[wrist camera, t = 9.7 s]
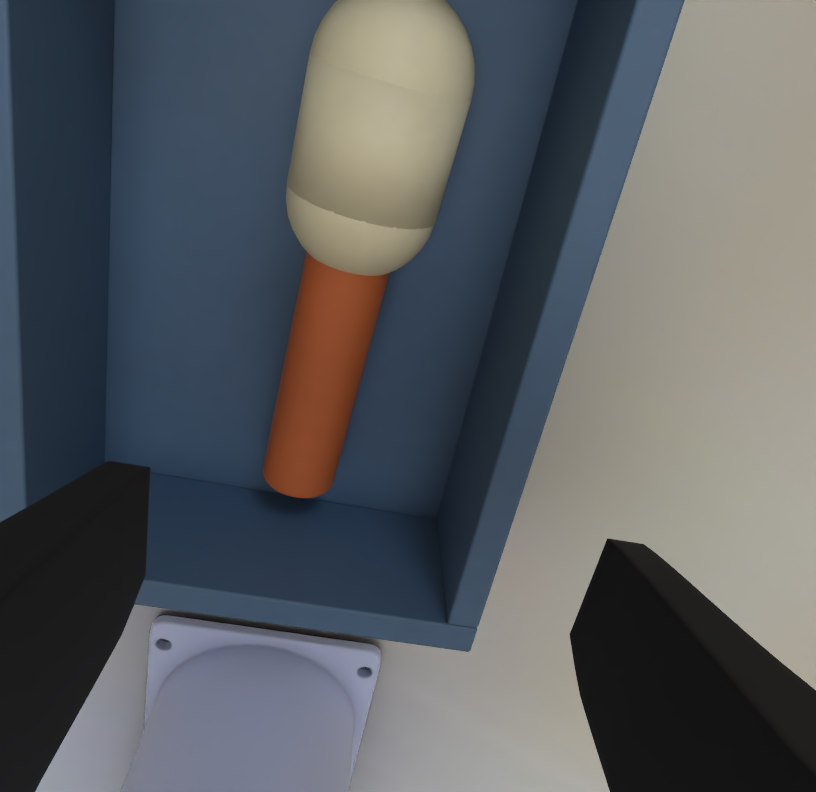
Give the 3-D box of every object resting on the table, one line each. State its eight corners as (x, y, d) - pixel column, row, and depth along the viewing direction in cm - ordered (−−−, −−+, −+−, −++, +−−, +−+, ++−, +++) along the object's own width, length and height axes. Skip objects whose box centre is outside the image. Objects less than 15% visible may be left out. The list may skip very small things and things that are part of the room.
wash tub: (453, 528, 22) (470, 653, 17) (88, 468, 20) (-7, 585, 16) (624, -70, 15) (735, -149, 10) (95, -210, 14) (-69, -376, 9)
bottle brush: (318, 432, 21) (379, 500, 19) (215, 451, 18) (272, 531, 16) (425, -9, 15) (532, 19, 13) (294, -56, 13) (398, -32, 11)
